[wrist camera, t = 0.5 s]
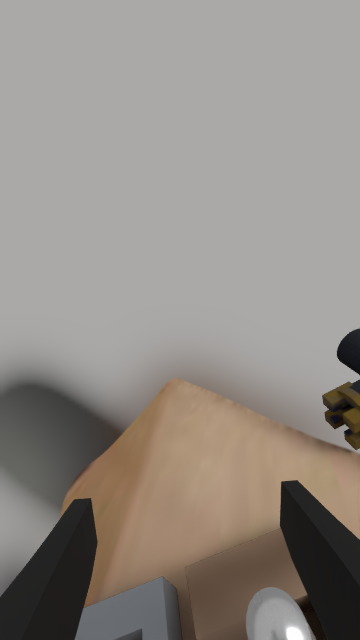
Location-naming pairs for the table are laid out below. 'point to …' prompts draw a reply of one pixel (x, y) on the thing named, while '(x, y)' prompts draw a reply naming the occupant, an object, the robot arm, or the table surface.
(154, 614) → the tool rack
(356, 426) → the pipe connector
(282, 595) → the steel peg
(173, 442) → the table surface
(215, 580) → the socket block
